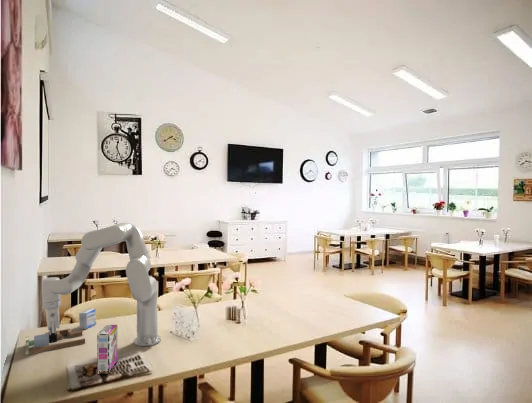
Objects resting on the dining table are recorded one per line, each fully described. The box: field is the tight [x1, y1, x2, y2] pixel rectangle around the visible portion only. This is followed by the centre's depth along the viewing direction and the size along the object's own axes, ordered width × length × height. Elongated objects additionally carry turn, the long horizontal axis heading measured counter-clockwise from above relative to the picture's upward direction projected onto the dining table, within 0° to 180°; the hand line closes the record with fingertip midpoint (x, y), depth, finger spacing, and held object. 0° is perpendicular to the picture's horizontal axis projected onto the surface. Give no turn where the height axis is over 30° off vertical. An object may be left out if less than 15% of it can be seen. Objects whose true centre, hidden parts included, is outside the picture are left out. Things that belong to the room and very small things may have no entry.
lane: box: [25, 328, 86, 356], centre depth 183 cm, size 18×24×4 cm
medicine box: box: [78, 308, 97, 330], centre depth 203 cm, size 8×4×9 cm, turn 168°
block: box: [33, 333, 50, 348], centre depth 177 cm, size 6×6×5 cm
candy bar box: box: [96, 324, 118, 372], centre depth 156 cm, size 11×5×16 cm, turn 5°
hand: (52, 342), depth 180 cm, fingers closed
